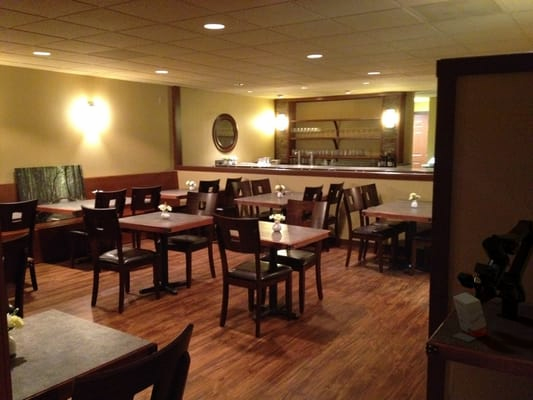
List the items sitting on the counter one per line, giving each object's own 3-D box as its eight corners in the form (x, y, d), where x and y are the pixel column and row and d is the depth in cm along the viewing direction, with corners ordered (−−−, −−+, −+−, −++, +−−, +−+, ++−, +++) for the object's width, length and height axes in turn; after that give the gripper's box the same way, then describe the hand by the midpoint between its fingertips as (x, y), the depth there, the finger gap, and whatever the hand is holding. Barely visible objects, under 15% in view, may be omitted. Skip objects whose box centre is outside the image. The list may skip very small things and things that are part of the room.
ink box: (489, 334, 146) (481, 299, 144) (474, 339, 146) (467, 304, 144) (473, 323, 155) (466, 291, 153) (459, 328, 154) (452, 295, 152)
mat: (460, 333, 150) (460, 332, 150) (476, 339, 145) (476, 338, 145) (452, 336, 147) (452, 335, 147) (468, 342, 143) (468, 341, 143)
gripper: (461, 248, 158) (441, 285, 153) (517, 259, 144) (497, 299, 138) (472, 268, 164) (453, 304, 159) (527, 279, 149) (508, 320, 144)
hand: (476, 306), depth 150 cm, fingers closed
